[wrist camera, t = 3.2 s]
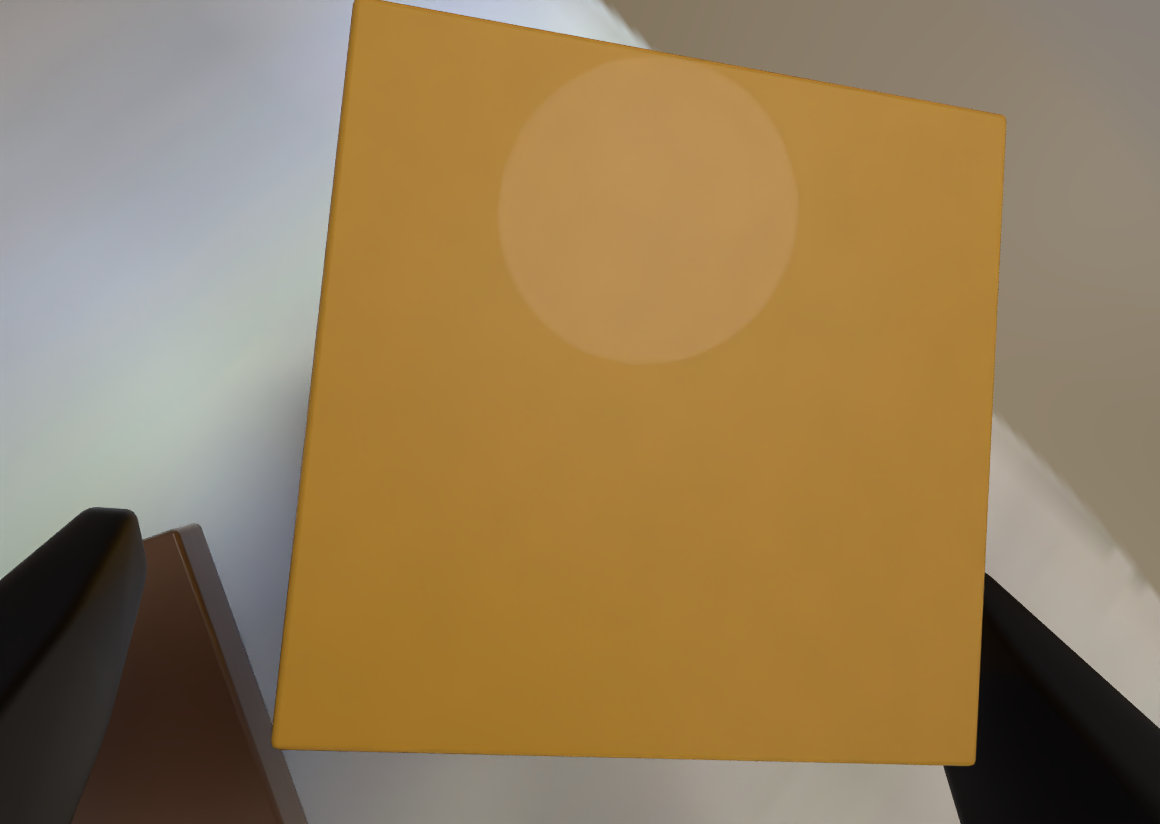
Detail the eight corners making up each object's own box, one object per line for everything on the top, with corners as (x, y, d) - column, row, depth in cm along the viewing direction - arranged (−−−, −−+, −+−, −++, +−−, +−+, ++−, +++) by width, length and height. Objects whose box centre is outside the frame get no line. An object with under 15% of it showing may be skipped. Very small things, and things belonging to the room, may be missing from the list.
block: (606, 564, 18) (977, 768, 6) (373, 549, 17) (267, 753, 5) (624, 340, 19) (1009, 112, 7) (398, 314, 18) (354, -8, 6)
